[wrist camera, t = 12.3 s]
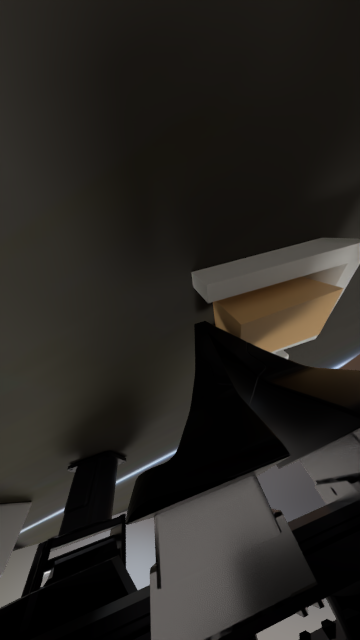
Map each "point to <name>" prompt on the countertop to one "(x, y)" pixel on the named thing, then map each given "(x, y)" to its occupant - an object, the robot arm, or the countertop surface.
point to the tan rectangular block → (278, 312)
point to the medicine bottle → (10, 528)
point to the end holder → (282, 269)
